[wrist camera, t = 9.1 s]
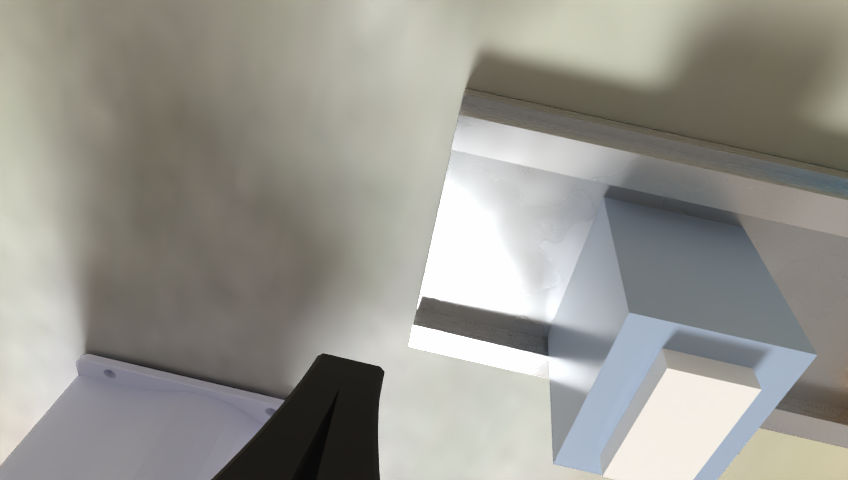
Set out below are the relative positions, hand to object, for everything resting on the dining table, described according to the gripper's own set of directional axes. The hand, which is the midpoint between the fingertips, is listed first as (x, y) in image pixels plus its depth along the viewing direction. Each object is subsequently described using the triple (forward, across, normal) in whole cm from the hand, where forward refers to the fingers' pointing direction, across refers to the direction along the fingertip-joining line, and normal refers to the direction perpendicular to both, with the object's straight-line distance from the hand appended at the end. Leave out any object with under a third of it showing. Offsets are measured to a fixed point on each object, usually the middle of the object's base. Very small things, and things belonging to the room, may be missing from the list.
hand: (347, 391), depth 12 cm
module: (+7, -7, 0) cm, 10 cm away
